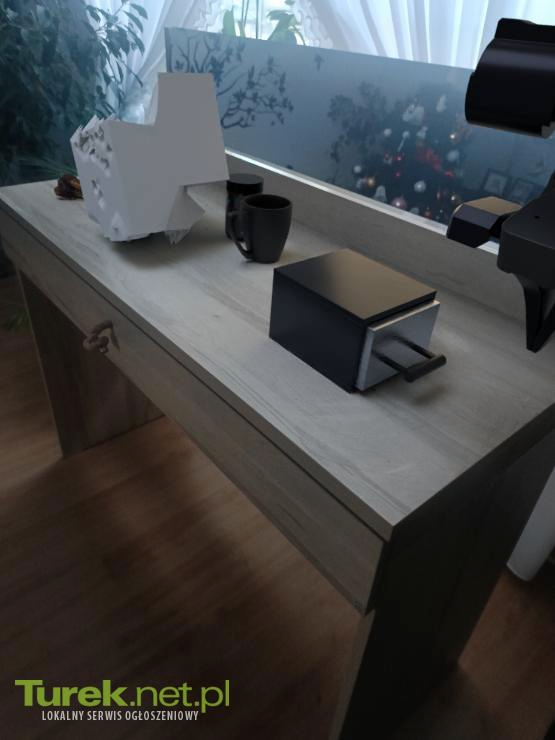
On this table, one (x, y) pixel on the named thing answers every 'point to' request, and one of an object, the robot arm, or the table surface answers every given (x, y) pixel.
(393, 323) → the drawer
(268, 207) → the mug
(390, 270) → the cabinet
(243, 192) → the supplement container
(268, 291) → the table surface
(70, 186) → the brown lumpy mound
